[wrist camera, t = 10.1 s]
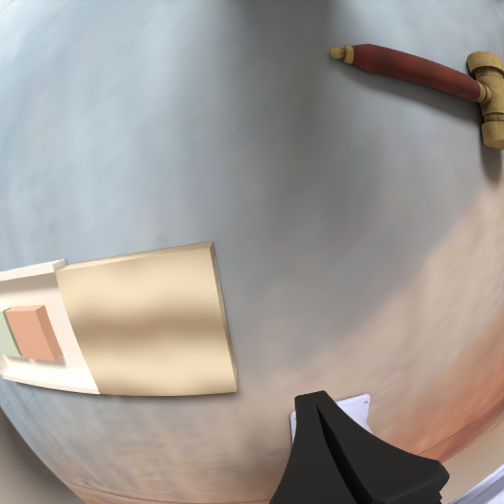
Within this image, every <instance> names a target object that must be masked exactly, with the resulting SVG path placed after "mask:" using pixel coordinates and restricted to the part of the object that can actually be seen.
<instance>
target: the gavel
mask: <svg viewBox="0 0 504 504" xmlns="http://www.w3.org/2000/svg"><path fill="white" fill-rule="evenodd" d="M330 56H331V57H332V58H335V59H339V58H343V61H344V62H345V63H348V64H352V65H354V66H356V67H358V68H360V69H362V70H364V71H366V72H370V73H375V74H380V75H385V76H390V77H394V78H399V79H403V80H407V81H411V82H415V83H418V84H422V85H425V86H429V87H432V88H435V89H438V90H442V91H445V92H447V93H450V94H453V95H456V96H459V97H461V98H464V99H469V100H474V101H477V102H479V103H480V106H481V112H482V117H483V119H484V122H485V123H484V124H482V126H481V128H482V136H483V143H484V144H485V145H486V146H488V147H491V148H493V149H499V150H504V66H503V63H502V60H501V58H500V57H499V56H497V55H496V54H494V53H491V52H487V51H477V52H474V53H472V54H470V55H469V56H468V57H467V62H468V66H469V69H470V73H471V75H472V76H474V77H475V78H476V81H475V80H474V79H472V78H471V77H470V76H468V75H466V74H464V73H461V72H459V71H456V70H454V69H452V68H449V67H446V66H444V65H441V64H438V63H436V62H433V61H430V60H427V59H424V58H421V57H418V56H415V55H411V54H408V53H404V52H401V51H397V50H393V49H389V48H385V47H381V46H377V45H372V44H362V45H355V46H348V45H347V46H345V47H344V48H343V49H340V48H338V47H332V48H331V49H330Z"/></svg>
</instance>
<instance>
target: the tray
mask: <svg viewBox="0 0 504 504" xmlns="http://www.w3.org/2000/svg"><path fill="white" fill-rule="evenodd" d="M66 266H67V261H66V259H61V260H56V261H51V262H46V263H40V264H35V265H30V266H25V267H20V268H15V269H10V270H6V271H1V272H0V307H10V306H11V308H12V307H14V306H28V305H43V304H44V305H45V308H46V311H47V314H48V317H49V320H50V322H51V325H52V328H53V331H54V333H55V336H56V338H57V341H58V343H59V346H60V348H61V351H62V354H61V355H60V356H59V357H58V359H57V360H56V361H49V360H39V359H29V358H23V355H22V356H21V357H15V356H7V355H1V354H0V374H1V376H2V378H3V379H7V380H12V381H16V382H20V383H25V384H30V385H35V386H40V387H46V388H52V389H59V390H66V391H73V392H82V393H92V394H100V392H99V390H98V388H97V386H96V384H95V382H94V379H93V377H92V375H91V373H90V371H89V369H88V366H87V364H86V362H85V360H84V357H83V355H82V352H81V350H80V347H79V345H78V342H77V340H76V337H75V335H74V332H73V329H72V326H71V324H70V321H69V318H68V315H67V312H66V309H65V306H64V302H63V299H62V296H61V292H60V289H59V285H58V282H57V278H56V274H55V272H56V271H58V270H60V269H62V268H64V267H66Z"/></svg>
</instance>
